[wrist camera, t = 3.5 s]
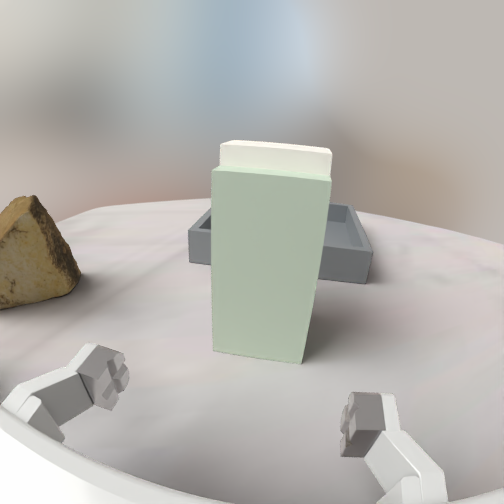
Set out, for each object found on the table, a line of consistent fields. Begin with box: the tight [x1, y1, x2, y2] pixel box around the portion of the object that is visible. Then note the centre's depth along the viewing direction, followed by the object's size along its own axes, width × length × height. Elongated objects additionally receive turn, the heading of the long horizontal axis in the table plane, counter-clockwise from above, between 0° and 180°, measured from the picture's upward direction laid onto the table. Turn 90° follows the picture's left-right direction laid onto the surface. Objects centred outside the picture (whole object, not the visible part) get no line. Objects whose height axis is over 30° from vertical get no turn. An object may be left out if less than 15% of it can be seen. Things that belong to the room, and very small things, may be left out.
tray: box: [188, 202, 373, 284], centre depth 37 cm, size 18×16×4 cm
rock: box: [0, 195, 81, 309], centre depth 23 cm, size 11×9×10 cm
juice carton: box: [211, 140, 332, 364], centre depth 20 cm, size 6×6×13 cm
